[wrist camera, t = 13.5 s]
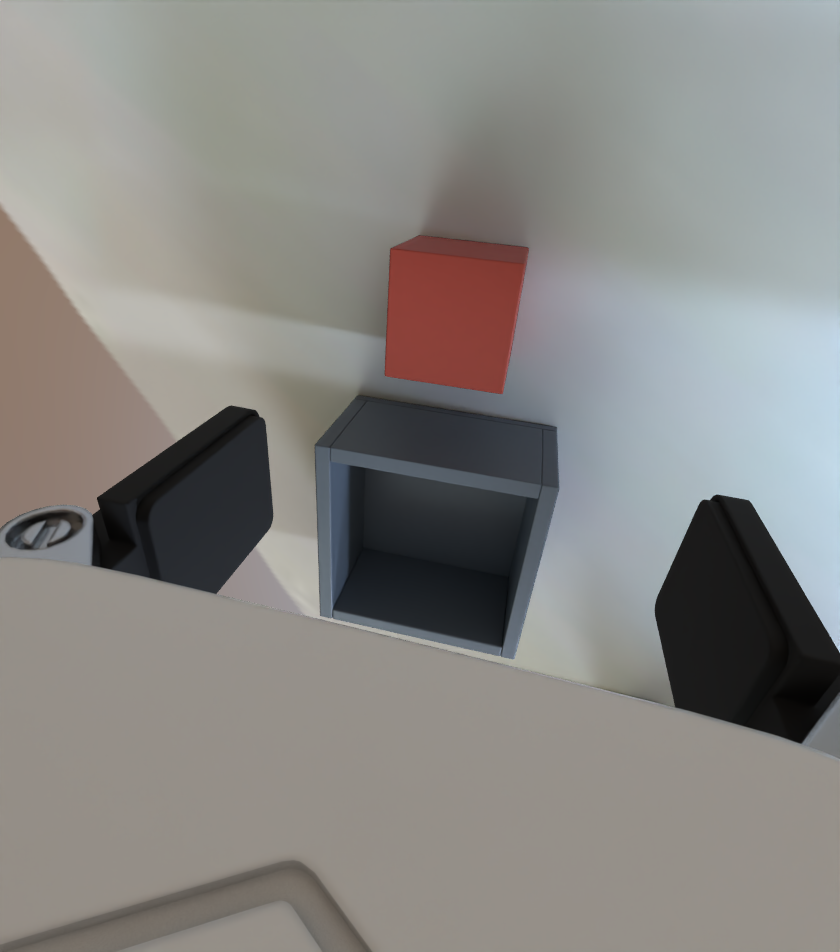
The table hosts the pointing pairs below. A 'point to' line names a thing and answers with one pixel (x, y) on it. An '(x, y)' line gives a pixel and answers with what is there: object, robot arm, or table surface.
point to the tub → (433, 521)
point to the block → (453, 311)
